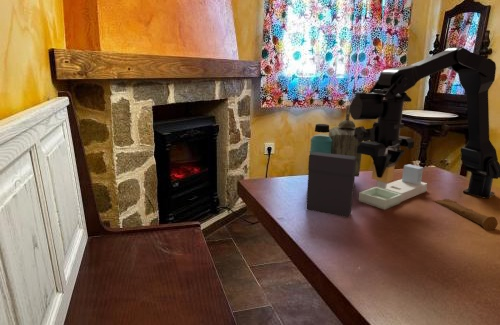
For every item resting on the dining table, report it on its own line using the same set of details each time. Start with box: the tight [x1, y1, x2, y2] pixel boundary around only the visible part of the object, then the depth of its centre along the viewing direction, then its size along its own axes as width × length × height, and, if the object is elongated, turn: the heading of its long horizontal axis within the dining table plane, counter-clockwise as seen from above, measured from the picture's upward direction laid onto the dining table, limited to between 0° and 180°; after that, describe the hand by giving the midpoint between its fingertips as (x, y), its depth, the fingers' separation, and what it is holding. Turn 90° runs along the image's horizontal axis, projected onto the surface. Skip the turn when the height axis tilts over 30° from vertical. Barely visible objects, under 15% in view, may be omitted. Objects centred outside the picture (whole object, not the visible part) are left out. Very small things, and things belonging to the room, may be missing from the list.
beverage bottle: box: [307, 123, 332, 175], centre depth 105 cm, size 6×7×20 cm
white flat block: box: [378, 178, 428, 202], centre depth 105 cm, size 15×7×2 cm, turn 129°
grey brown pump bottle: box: [328, 104, 364, 178], centre depth 111 cm, size 14×9×25 cm, turn 170°
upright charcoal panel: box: [305, 152, 357, 218], centre depth 89 cm, size 11×4×15 cm, turn 65°
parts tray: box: [358, 186, 402, 211], centre depth 98 cm, size 8×8×2 cm
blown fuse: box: [371, 160, 396, 189], centre depth 96 cm, size 3×5×7 cm
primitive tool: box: [432, 198, 499, 231], centre depth 91 cm, size 19×6×4 cm, turn 8°
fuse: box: [401, 163, 424, 185], centre depth 107 cm, size 3×4×7 cm, turn 39°
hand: (382, 176), depth 96 cm, fingers closed on blown fuse, 3 cm apart
